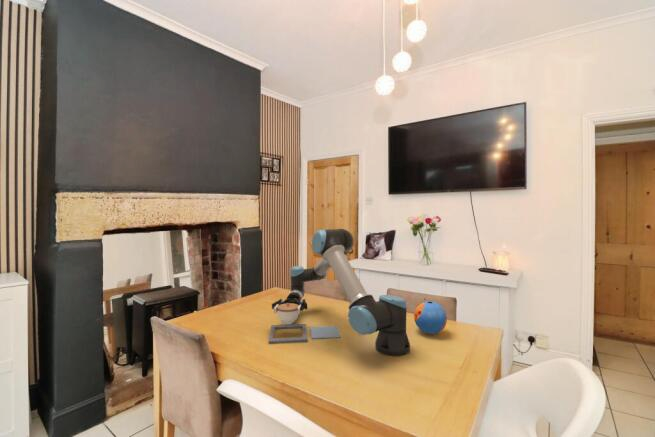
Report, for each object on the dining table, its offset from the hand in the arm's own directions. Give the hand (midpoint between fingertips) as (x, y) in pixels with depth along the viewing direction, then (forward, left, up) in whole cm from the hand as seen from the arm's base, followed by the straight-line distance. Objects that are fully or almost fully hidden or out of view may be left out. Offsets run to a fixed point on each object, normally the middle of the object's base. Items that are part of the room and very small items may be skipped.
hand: (286, 311), depth 152 cm
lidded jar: (+4, -1, -7) cm, 8 cm away
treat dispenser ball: (-2, -71, -13) cm, 72 cm away
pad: (+4, -19, -13) cm, 23 cm away
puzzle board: (+4, -1, -13) cm, 13 cm away
